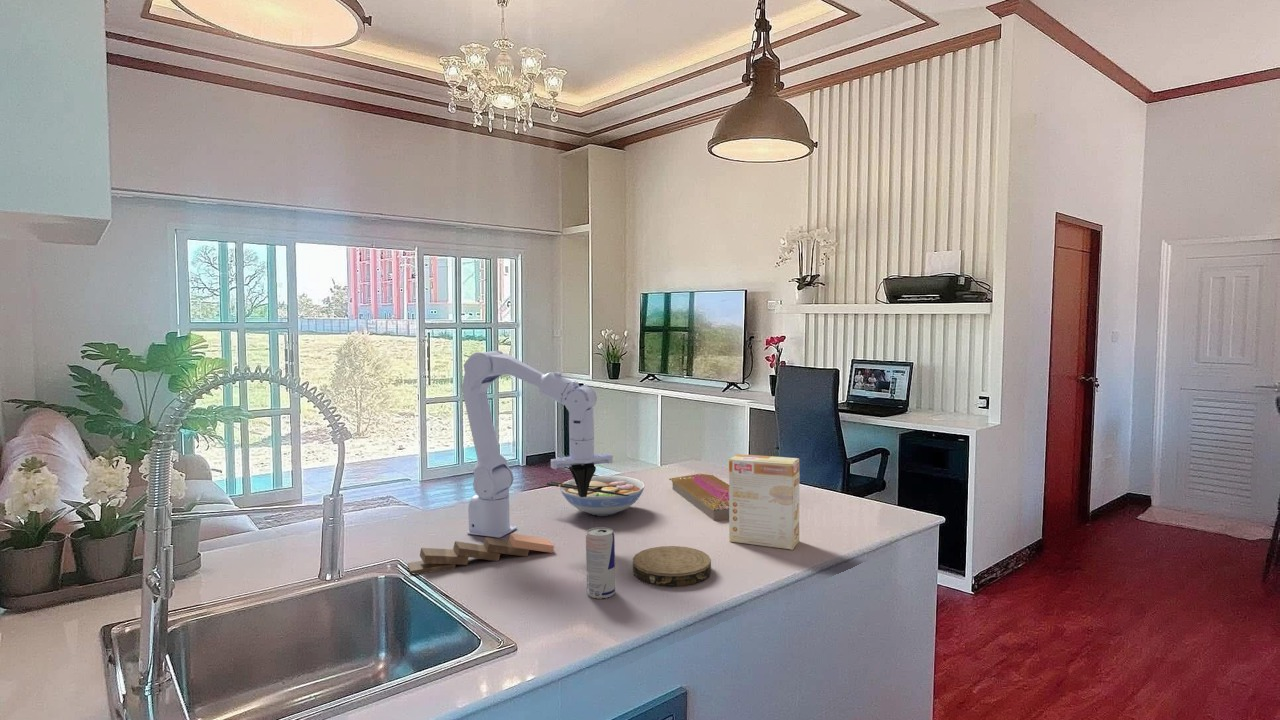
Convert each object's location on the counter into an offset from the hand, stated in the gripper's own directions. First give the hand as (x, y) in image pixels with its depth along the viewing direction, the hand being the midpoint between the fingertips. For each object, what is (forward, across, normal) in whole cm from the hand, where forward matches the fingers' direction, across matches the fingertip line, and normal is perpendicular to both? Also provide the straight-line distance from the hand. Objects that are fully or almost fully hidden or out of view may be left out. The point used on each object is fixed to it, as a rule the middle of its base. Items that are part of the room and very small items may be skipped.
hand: (582, 496), depth 161 cm
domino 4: (+10, -14, -3) cm, 18 cm away
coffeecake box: (+11, +38, -19) cm, 43 cm away
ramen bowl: (+11, +12, +19) cm, 25 cm away
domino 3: (+10, -21, -3) cm, 23 cm away
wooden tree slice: (+11, +10, -27) cm, 31 cm away
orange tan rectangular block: (+10, -9, -3) cm, 13 cm away
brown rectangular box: (+11, +44, +16) cm, 48 cm away
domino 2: (+9, -28, -3) cm, 29 cm away
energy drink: (+11, -7, -31) cm, 34 cm away
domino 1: (+10, -30, -3) cm, 32 cm away
